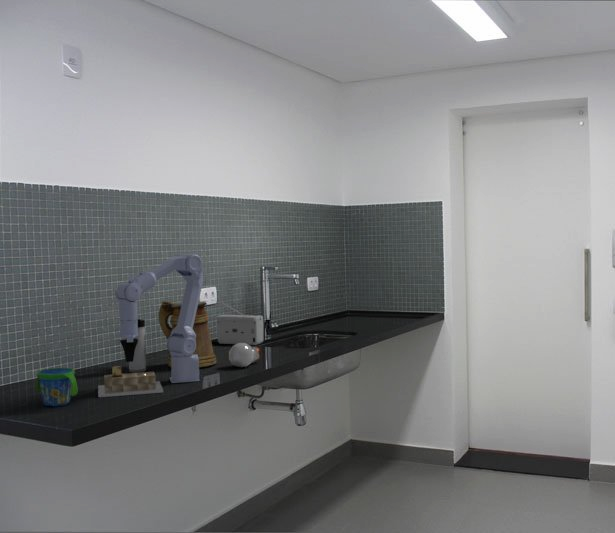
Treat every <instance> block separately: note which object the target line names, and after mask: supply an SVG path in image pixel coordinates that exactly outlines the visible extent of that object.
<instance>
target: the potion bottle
mask: <svg viewBox="0 0 615 533" xmlns="http://www.w3.org/2000/svg"><path fill="white" fill-rule="evenodd" d="M261 358H262V354H261V351H260V347H258V346H252V345H248V344H246V343H237V344H233V345H232V347H231V348H230V349H229V351H228V359H229V362H230V363H231V365H233V366H234V367H236V368H243V367H245V368H247V366H249V365H250V364H251V365H252V364H253V363H255V362H257V361H260V359H261Z"/></svg>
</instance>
